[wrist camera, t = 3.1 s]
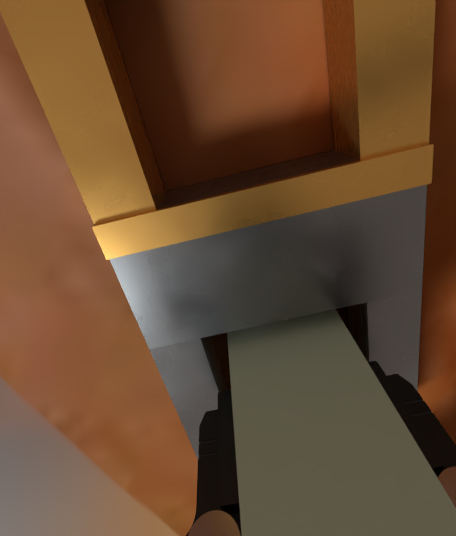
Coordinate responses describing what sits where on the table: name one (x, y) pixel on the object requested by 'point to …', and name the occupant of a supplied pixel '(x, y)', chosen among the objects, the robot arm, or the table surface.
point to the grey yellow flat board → (252, 195)
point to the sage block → (324, 439)
